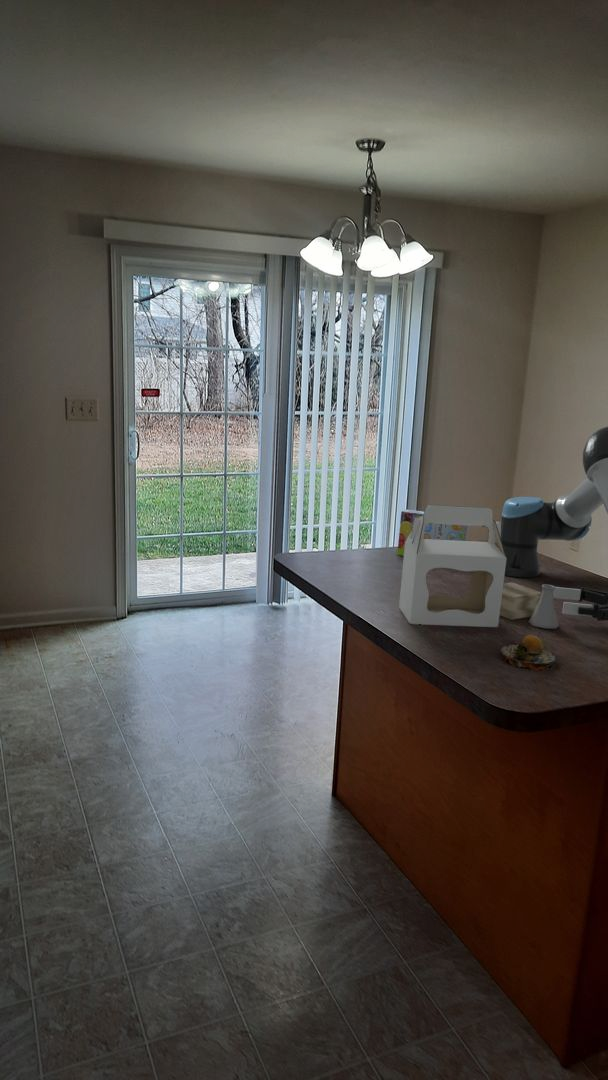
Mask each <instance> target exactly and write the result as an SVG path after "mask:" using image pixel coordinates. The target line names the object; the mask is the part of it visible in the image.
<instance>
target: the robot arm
mask: <svg viewBox="0 0 608 1080" xmlns="http://www.w3.org/2000/svg"><path fill="white" fill-rule="evenodd" d="M582 466H583V469H584V472H585V474H586V477H587V478H585V479H584V480H583V481H582V482H581V483H580V484H579V485H578V486H576V487H575V489H574V490H573V491H572V492H570V493H564V494H562V495H560V496H559V497H558V498H557V499H556V500H555V501H554V502H544V499H542V498H541V497H536V496H516V497H511V498H508V499H507V500H505V502H504V504H503V508H502V511H501V541H502V544H503V547H504V551H505V554H506V557H507V559H506V567H505V575H504V576H508V577H515V578H535V576H536V577H539V576H540V575H541V574H540V573H541V566H540V563H539V556H538V546H539V545H538V543H539V540H543V541H544V540H545V541H546V540H547V541H548V540H551V541H552V540H553V541H566V542H567V541H568V542H571V541H577V540H581V539H583V538H584V537H585V536H586V535H587V534H588V533H589V531H590V527H591V525H592V521H593V520H592V514H593V513H594V512H595V511H597V510H598V509H599V508H600V507H601V506H602V505H603V506H604V508H605V509H604V510H605V511H606V513H607V514H608V426H604V427H602V428H599V429H598V430H596V431H595V432H593V434H591V435H590V437H589V438H588V440H586V442H585V445H584V448H583V451H582ZM538 575H539V576H538ZM553 599H563V600H571V601H578V602H579V603H578V602H569V601H563V603H562V604H563V605H562V609H561V610H562V612H561V613H562V614H563V615H571V616H580V617H590V618H591V617H592V618H594V619H596V620H597V621H599V622H600V621H603V622H604V621H608V591H604V590H598V589H594V588H589V587H585V586H582V587H580V589H579V588H570V587H569V588H568V587H560V586H555V589H554V592H553ZM583 601H586V602H589V603H593V605H592V604H587V603H581V602H583Z"/></svg>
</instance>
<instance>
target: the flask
mask: <svg viewBox="0 0 608 1080" xmlns="http://www.w3.org/2000/svg"><path fill="white" fill-rule="evenodd" d="M555 587H556V586H555V585H552V584H546V583H545V584H542V585H541V588H542V591H541V593H542V595H541V598H540V601H539V603H538V605H537V607H536V609H535V611H534V613H533V614H532V616H531V617H529V618H530V619H529V620H528V624H530V625H531V626H533V627H537V628H542V629H552V630H553V629H554V630H555V629H557V628H559V621H558V617H557V614H556V613H557V612H556V608H555V602H554V598H553V592H554V589H555Z"/></svg>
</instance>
